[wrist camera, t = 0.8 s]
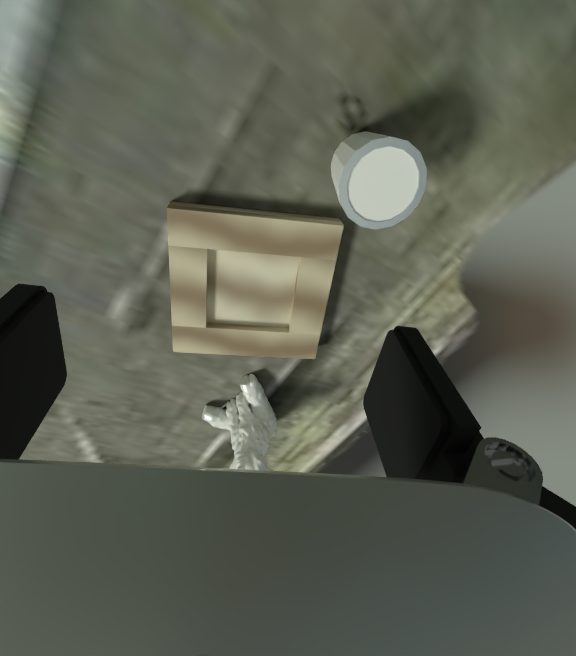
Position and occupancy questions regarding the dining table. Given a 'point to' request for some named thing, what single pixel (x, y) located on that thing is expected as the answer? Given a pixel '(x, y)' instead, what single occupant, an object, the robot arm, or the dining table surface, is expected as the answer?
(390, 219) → the white cup
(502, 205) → the dining table surface
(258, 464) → the sitting furry creature
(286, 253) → the coaster board
